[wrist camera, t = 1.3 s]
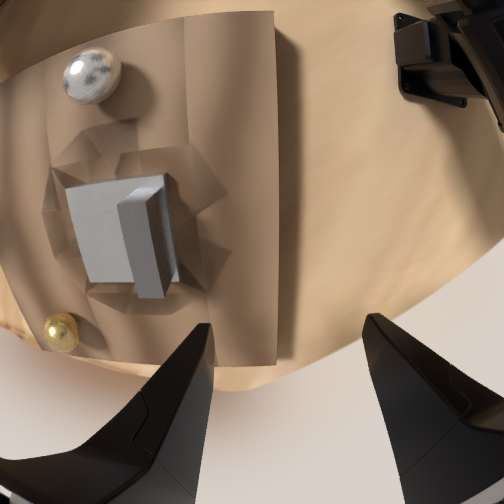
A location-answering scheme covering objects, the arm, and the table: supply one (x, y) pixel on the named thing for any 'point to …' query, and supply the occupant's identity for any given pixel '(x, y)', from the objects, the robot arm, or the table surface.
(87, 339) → the wooden cutting board
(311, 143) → the table surface
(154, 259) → the cover
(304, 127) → the table surface
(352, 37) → the table surface
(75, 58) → the ball
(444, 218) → the table surface
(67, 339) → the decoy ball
